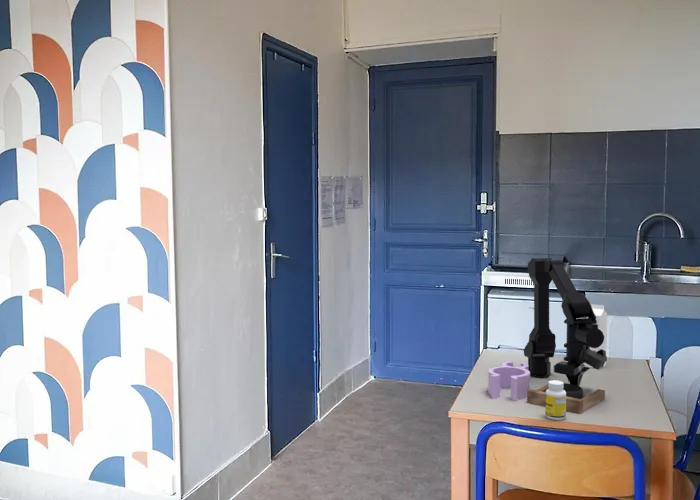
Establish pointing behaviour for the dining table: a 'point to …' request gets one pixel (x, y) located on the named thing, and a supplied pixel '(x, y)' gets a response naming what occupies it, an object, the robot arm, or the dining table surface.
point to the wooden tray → (567, 399)
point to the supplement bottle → (555, 400)
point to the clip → (509, 380)
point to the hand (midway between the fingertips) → (575, 391)
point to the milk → (600, 327)
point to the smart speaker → (573, 391)
